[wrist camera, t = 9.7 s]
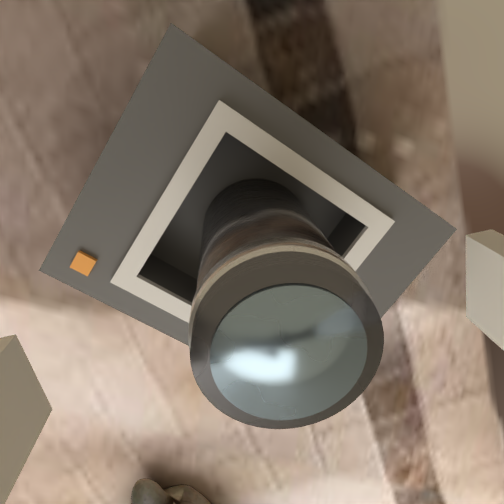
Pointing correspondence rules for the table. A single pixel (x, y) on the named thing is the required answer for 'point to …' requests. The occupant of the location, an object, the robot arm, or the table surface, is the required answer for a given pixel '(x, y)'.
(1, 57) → the table surface
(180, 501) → the handheld device
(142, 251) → the grey planter box
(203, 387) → the lens
